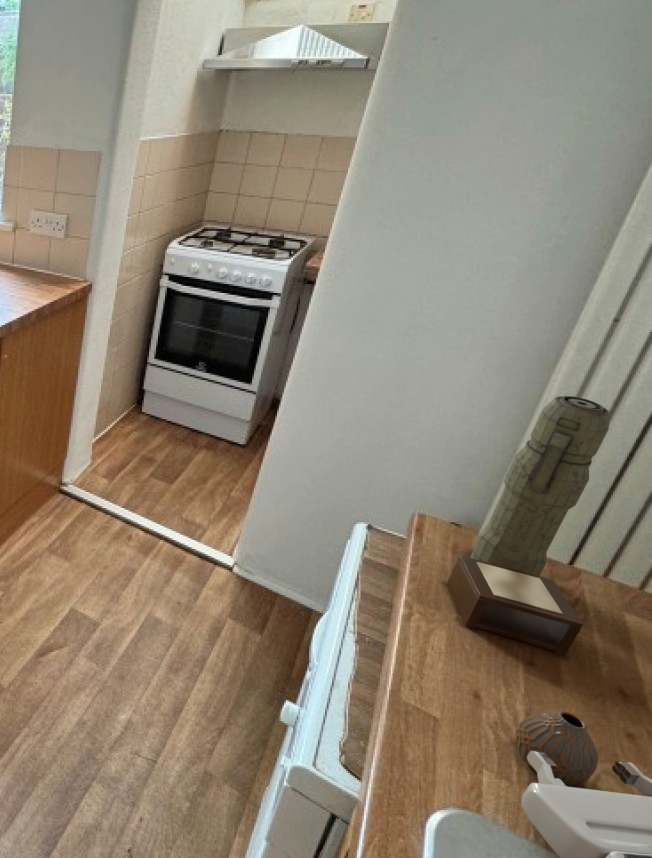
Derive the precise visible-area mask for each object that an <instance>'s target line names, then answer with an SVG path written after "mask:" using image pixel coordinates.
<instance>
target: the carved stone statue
mask: <svg viewBox="0 0 652 858" xmlns="http://www.w3.org/2000/svg"><path fill="white" fill-rule="evenodd" d="M609 429H610V411H609V410H608V409H607V408H606V407H604V406H603V405H602V404H600V403H598V402H595V401H593V400H590V399H587V398H583V397H579V396H574V395H564V396H563V395H562V396H561V395H560V396H559V395H558V396H556V397H554V398H553V399H552V400H551V401H549V402H548V403H547V404H546V405H545V406H544V407H543V408H542V409H541V412H540V413H539V416H538V418H537V420H536V423H535V425H534V427H533V429H532V431H531V433H530V437H531V438H529V440H527V441H526V444H525V446H523V448H521V449H520V450H519V451H517V453H515V456H514V458H513V460H512V462H511V465H510V467H509V469H508V471H507V473H506V476H505V478H504V481H503V482H504V486H505V487H504V489H503V491H502V493H501V495H500V497H499V500H498V502H497V504H496V506H495V508H494V510H493V513H492V515H491V517H490V519H489V521H488V524H487V525H486V526H485V527H484V528H483V529H482V530H481V531H480V532H478V535H477V537H476V539H475V542H474V543H473V546H472V553H471V554H470V555H469V558H473V559H476V560H480V561H484V562H488V563H491V564H495V565H499V566H503V567H507V568H510V569H514V570H518V571H522V572H526V573H529V574H533V575H537V576H541V574H542V572H543V570H544V569H545V566H546V565H547V562H548V561H547V560H548V558H547V555H548V553H547V552H548V550H549V548H550V547H551V545H552V543H553V541H554V539H555V538H556V537H555V536H556V535H557V533H558V530H559V529H560V527H561V525H562V523H563V521H564V520H565V517H566V515H567V513H568V512H569V510H570V509H573V508H574V507H575V506H576V505H577V503H578V501H579V500H580V498H581V496H582V495H583V492H584V491H585V488H586V486H587V485H588V482H589V480H590V466H592V458H593V457H595V456H596V454H597V453H598V451H599V449H600V447H601V446H602V443H603V441H604V439H605V437H606V435H607V433H608V431H609Z"/></svg>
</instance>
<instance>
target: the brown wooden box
mask: <svg viewBox="0 0 652 858" xmlns="http://www.w3.org/2000/svg"><path fill="white" fill-rule="evenodd" d="M446 588H447V590H448V592H449V593H450V597H451V598H452V600H453V603H454V605H455V608H456V609H457V612H458V614H459V616H460V618H461V620H462V622H463V624H464V627H466V628H469V629H473V630H475V629H476V628H478V629H480V630H484V631H488V632H491V633H494V634H497V635H501V636H503V637H508V638H512V639H514V640H517V641H520V642H524V643H527V644H531V645H534V646H538V647H541V648H545V649H548V650H550V651H552V652H553V653H554V654H555V655H559V656H562V657H566V655H567V653H568V651H570V648H571V647H572V645H573V643H574V641H575V639H576V638H577V636H578V635H579V633H580V631H581V629H582V628H583V625H584V623H583V622H582V620H581V619H580V617H579V616H578V614H577V613H576V612H575V610H574V609H573V607H572V605H571V604H570V603H569V601H568V600H567V599H566V597H565V595H564V594H563V592H562V591H561V590H560V588H559V586H558V585H557V583H556V582H555V580H553V579H552V578H548V577H545V576H542V575H540V576H537V575H533V574H529V573H526V572H522V571H518V570H514V569H510V568H507V567H503V566H499V565H495V564H491V563H488V562H484V561H480V560H476V559H473V558H470V556H465V555H462V554H460V555H459V556H458V558H457V560H456V562H455V564H454V567H453V569H452V571H451V573H450V576H449V577H448V580H447V582H446Z"/></svg>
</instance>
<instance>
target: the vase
mask: <svg viewBox="0 0 652 858" xmlns="http://www.w3.org/2000/svg"><path fill="white" fill-rule="evenodd" d="M514 739H515V740H514V741H515V747H516V750H517V751H518V753H519V755H520V757H521V758H522V760H523V761H524V763H525V764H526V765H527V766H528V767H530V769H531V770H533V771H534V772H535V773H537V772H536V770H535V769H534V768H533V767H532V766H531V764H530V763H529V762H528V760H527V756H528V754H529V752H530V751H536V752H543V753H546V754H547V755H548V756H549V758H550V759H552V760H553V761H554V763H555V764H556V765H557V766H556V768H555V769H554V770H553V776H554V778H555V779H556V778H557V779H560V780H561V781H562V782H563V783H564V784H565V785H566V786H569V785H570V786H573V785H580V784H582V783H585V782H586V781H588V780H590V778H591V777H592V776H593V775H594V774H595V772H596V771H597V768H598V764H599V754H598V749H597V747H596V745H595V743H594V741H593V739H592V737H591V736H590V734H589V733H588V726H587V724H586V723H585V721H584V720H582V719H581V717H579V716H577V715H576V714H574V713H572V712H570V711H567V710H560V711H559V710H558V711H556V712H544V711H543V712H535V713H532V714H529V715H528V716H526V717H525V718H523V719H522V720H520V722H519V724H518V725H517V727H516V730H515V735H514Z"/></svg>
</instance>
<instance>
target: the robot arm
mask: <svg viewBox="0 0 652 858" xmlns="http://www.w3.org/2000/svg"><path fill="white" fill-rule="evenodd" d="M527 760H528V762H529V763H530V764H531V766H532V767H533V768H534V769H535V770H536V772H535V773H536V775H537V781H538V782H531V783H530V784H529V785H528V786H527V787H526V789H525V791H524V793H523V794H522V796H521V800H520V801H521V804H520V805H521V809H522V810H523V813H524V814H525V815H526V817H527V818H528V821H530V822H531V824H532V825H533V826H534V827H535V829H536V831H537V832H538V833H539V834H540V835H541V837H542V838H543V839H544V840H545V842H546V843H547V845H549V847H550V848H551V849H552V850H553V852H554V853H555V854H556V855H557V856H558V857H559V858H652V779H651V778H650V777H648V776H647V775H645V774H644V773H643V772H642V771H641V770H640V769H639V768H638V767H637V766H636V765H635V764H634V763H633V762H631V761H630V762H629V761H624V760H623V761H622V760H615V761H614V764H612V766H611V770H612V772H613V773H614V774H615V775H616V776H617V777H618V778H619V779H620V781H621V782H622V783H623V784H625V785H628V786H629V785H630V786H633V788H635V789H636V790H638V791H639V792H641V794H644V795H640V794H631V793H622V792H614V791H606V790H598V789H590V788H582V787H575V786H574V787H573V786H568V785H567V784H564V783H563V782H562V781H561V780H560V779H557V778H556V779H555V778H554V776H553V770H554V769H555V768H556V766H557V765H556V764H555V763H554V761H553V760H552V759H550V758H549V756H548V755H547V754H546V753H543V752H536V751H530V752H529V754H528V756H527Z"/></svg>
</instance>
